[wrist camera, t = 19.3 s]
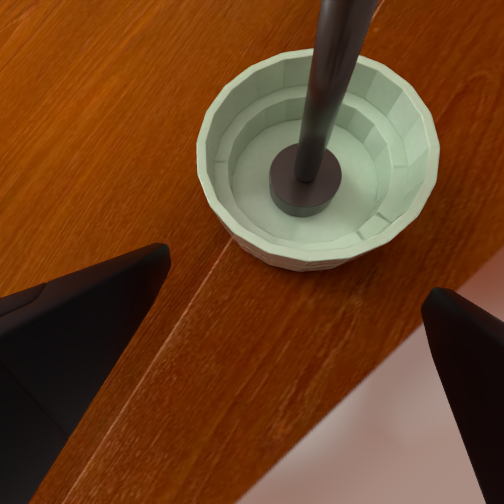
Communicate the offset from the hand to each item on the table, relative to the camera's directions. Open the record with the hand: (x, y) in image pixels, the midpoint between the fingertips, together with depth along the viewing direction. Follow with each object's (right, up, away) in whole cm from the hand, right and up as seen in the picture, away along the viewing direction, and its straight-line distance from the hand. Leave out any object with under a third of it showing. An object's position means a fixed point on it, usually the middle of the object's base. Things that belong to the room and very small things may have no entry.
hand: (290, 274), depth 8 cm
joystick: (+3, +6, +10) cm, 12 cm away
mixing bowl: (+3, +6, +11) cm, 13 cm away
